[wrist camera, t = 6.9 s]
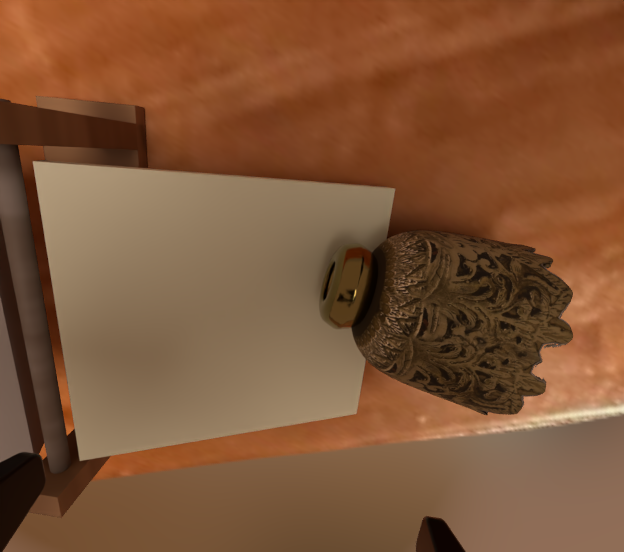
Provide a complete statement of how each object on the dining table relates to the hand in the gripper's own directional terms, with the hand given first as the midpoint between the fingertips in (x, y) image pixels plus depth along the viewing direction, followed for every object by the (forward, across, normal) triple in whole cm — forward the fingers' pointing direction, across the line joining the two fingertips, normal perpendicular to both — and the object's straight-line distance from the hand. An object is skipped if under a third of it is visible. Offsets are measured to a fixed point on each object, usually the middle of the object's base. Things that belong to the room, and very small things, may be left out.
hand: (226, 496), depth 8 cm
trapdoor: (+10, +8, 0) cm, 12 cm away
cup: (+8, -1, -3) cm, 8 cm away
